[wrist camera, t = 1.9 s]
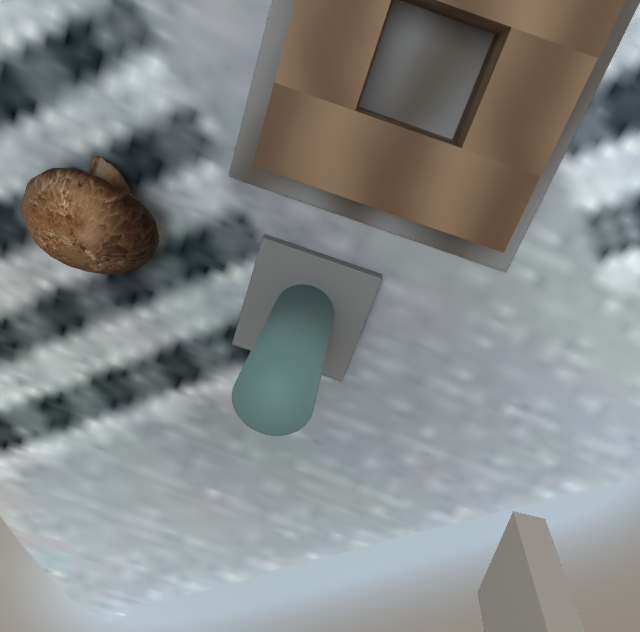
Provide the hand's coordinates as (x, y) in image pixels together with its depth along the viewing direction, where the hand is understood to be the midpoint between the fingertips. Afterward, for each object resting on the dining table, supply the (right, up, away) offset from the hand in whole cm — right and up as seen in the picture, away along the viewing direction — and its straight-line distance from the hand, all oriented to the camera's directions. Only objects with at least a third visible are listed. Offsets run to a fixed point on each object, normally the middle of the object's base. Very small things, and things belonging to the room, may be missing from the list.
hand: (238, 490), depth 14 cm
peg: (+1, +5, +23) cm, 24 cm away
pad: (+1, +5, +24) cm, 24 cm away
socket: (+8, +18, +17) cm, 26 cm away
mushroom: (-12, +11, +23) cm, 28 cm away
